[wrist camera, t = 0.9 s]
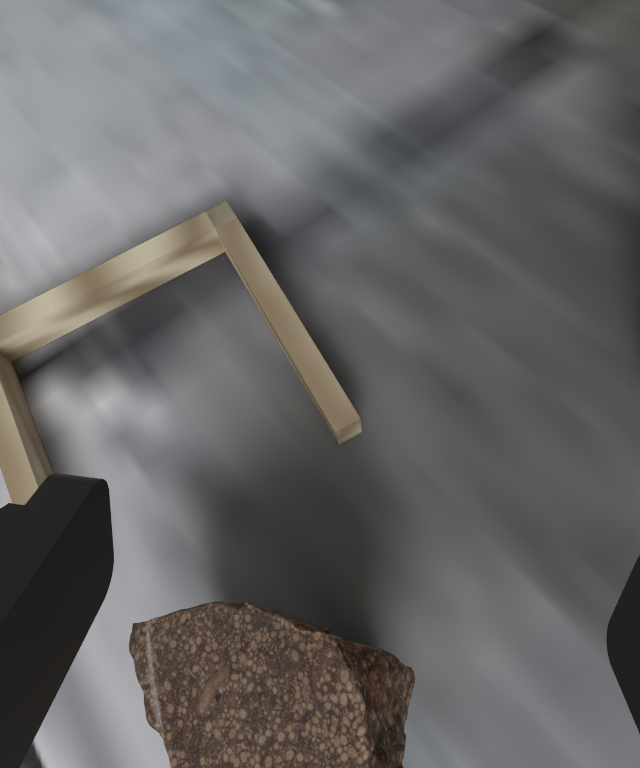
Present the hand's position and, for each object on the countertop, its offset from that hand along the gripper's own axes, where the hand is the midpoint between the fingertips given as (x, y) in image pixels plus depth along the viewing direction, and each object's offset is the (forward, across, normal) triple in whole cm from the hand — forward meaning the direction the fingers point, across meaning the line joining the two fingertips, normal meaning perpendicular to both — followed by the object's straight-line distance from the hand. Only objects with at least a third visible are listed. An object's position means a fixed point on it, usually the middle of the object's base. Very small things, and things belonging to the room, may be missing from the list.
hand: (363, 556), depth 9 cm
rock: (+12, 0, +20) cm, 24 cm away
